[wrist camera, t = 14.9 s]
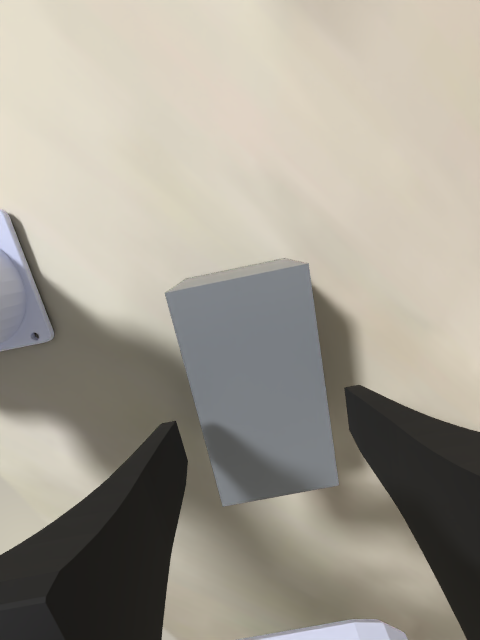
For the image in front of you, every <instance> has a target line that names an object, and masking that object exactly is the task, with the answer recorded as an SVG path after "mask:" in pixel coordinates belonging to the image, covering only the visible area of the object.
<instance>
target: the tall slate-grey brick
mask: <svg viewBox="0 0 480 640" xmlns="http://www.w3.org/2000/svg"><path fill="white" fill-rule="evenodd" d="M165 296H166V299H167V303H168V307H169V310H170V314H171V318H172V321H173V325H174V329H175V333H176V336H177V340H178V344H179V347H180V351H181V355H182V358H183V362H184V366H185V369H186V373H187V377H188V380H189V384H190V388H191V391H192V395H193V399H194V403H195V406H196V410H197V414H198V417H199V421H200V425H201V428H202V432H203V436H204V439H205V443H206V447H207V450H208V454H209V458H210V461H211V465H212V469H213V473H214V476H215V480H216V484H217V487H218V491H219V495H220V498H221V502H222V506H223V507H224V506H229V505H235V504H240V503H245V502H251V501H256V500H262V499H267V498H273V497H278V496H284V495H289V494H295V493H300V492H305V491H311V490H316V489H322V488H327V487H333V486H338V485H339V481H338V474H337V467H336V460H335V452H334V445H333V438H332V430H331V423H330V416H329V409H328V401H327V394H326V387H325V380H324V372H323V365H322V358H321V351H320V343H319V336H318V329H317V322H316V314H315V307H314V300H313V292H312V285H311V278H310V271H309V263H304V262H300V261H295V260H291V259H286V258H284V259H279V260H274V261H269V262H264V263H260V264H255V265H250V266H245V267H240V268H235V269H230V270H226V271H221V272H216V273H211V274H206V275H201V276H197V277H192V278H187V279H185V280H183V281H182V282H180V283H179V284H177V285H176V286H174V287H173V288H171V289H170V290H168V291H167V292H165Z"/></svg>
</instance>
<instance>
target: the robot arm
mask: <svg viewBox="0 0 480 640" xmlns="http://www.w3.org/2000/svg"><path fill="white" fill-rule="evenodd" d="M35 333H37V334H38V335H39V338H37V337H36V336H35ZM53 337H54V331H53V328H52V326H51V323H50V321H49V318H48V316H47V313H46V310H45V308H44V305H43V303H42V300H41V297H40V295H39V292H38V290H37V287H36V284H35V282H34V279H33V277H32V274H31V271H30V269H29V266H28V264H27V261H26V258H25V256H24V253H23V251H22V248H21V246H20V243H19V240H18V238H17V235H16V233H15V230H14V227H13V225H12V222H11V220H10V217H9V215H8V213H7V212H6V211H4V210H2V209H0V351H5V350H10V349H15V348H20V347H25V346H30V345H35V344H40V343H44V342H48V341H50V340H52V339H53ZM345 396H346V405H347V413H348V422H349V430H350V432H351V434H352V436H353V438H354V440H355V442H356V444H357V446H358V448H359V450H360V452H361V453H362V455H363V456H364V458H365V459H366V461H367V462H368V464H369V465H370V467H371V468H372V470H373V471H374V473H375V474H376V476H377V477H378V479H379V480H380V482H381V483H382V485H383V486H384V488H385V489H386V491H387V492H388V494H389V495H390V497H391V498H392V500H393V501H394V502H395V504H396V506H397V507H398V509H399V511H400V512H401V514H402V515H403V517H404V519H405V521H406V523H407V524H408V526H409V528H410V530H411V532H412V534H413V535H414V537H415V539H416V541H417V543H418V544H419V546H420V548H421V550H422V552H423V554H424V556H425V558H426V560H427V562H428V563H429V565H430V567H431V569H432V571H433V573H434V575H435V577H436V579H437V581H438V582H439V584H440V586H441V588H442V590H443V592H444V594H445V596H446V598H447V600H448V602H449V604H450V606H451V608H452V610H453V612H454V614H455V616H456V618H457V620H458V622H459V624H460V626H461V628H462V630H463V632H464V634H465V636H466V638H467V640H480V432H477V431H473V430H470V429H466V428H463V427H459V426H456V425H453V424H450V423H447V422H444V421H441V420H438V419H435V418H433V417H430V416H427V415H425V414H422V413H420V412H418V411H415V410H413V409H410V408H408V407H406V406H403V405H401V404H399V403H397V402H395V401H392V400H390V399H388V398H386V397H384V396H382V395H380V394H378V393H376V392H374V391H372V390H370V389H367V388H365V387H363V386H361V385H356V386H351V387H346V388H345ZM187 464H188V460H187V457H186V453H185V450H184V446H183V443H182V440H181V436H180V433H179V430H178V426H177V423H176V421H172V422H167V423H162V424H161V425H160V426H159V427H158V428H157V429H156V430H155V431H154V432H153V433H152V434H151V435H150V436H149V437H148V438H147V439H146V441H145V442H144V443H143V444H142V445H141V446H140V447H139V448H138V449H137V450H136V451H135V452H134V453H133V454H132V455H131V457H130V458H129V459H127V460H126V461H125V462H124V463H123V464H122V465H121V466H120V467H119V468H118V469H117V470H116V471H115V472H114V473H113V474H112V475H111V476H110V477H109V478H108V479H107V480H106V481H105V482H104V483H102V484H101V485H100V486H99V487H98V488H97V489H95V490H94V491H93V492H92V493H91V494H89V495H88V496H87V497H86V498H85V499H83V500H82V501H81V502H79V503H78V504H77V505H75V506H74V507H73V508H71V509H70V510H69V511H67V512H66V513H65V514H63V515H62V516H61V517H59V518H58V519H57V520H55V521H54V522H52V523H51V524H49V525H48V526H46V527H45V528H44V529H42V530H41V531H39V532H38V533H36V534H34V535H33V536H31V537H30V538H28V539H26V540H25V541H23V542H22V543H20V544H19V545H17V546H15V547H14V548H12V549H10V550H9V551H7V552H5V553H3V554H2V555H0V640H161V637H162V627H163V618H164V608H165V599H166V590H167V582H168V574H169V566H170V558H171V552H172V547H173V542H174V537H175V533H176V528H177V523H178V519H179V514H180V510H181V505H182V500H183V496H184V491H185V486H186V477H187ZM237 640H408V638H407V636H406V634H405V633H404V632H402V631H401V630H399V629H397V628H395V627H393V626H391V625H389V624H387V623H385V622H382V621H380V620H378V619H350V620H344V621H339V622H333V623H327V624H322V625H316V626H310V627H305V628H299V629H294V630H288V631H282V632H277V633H271V634H266V635H260V636H254V637H249V638H243V639H237Z"/></svg>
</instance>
